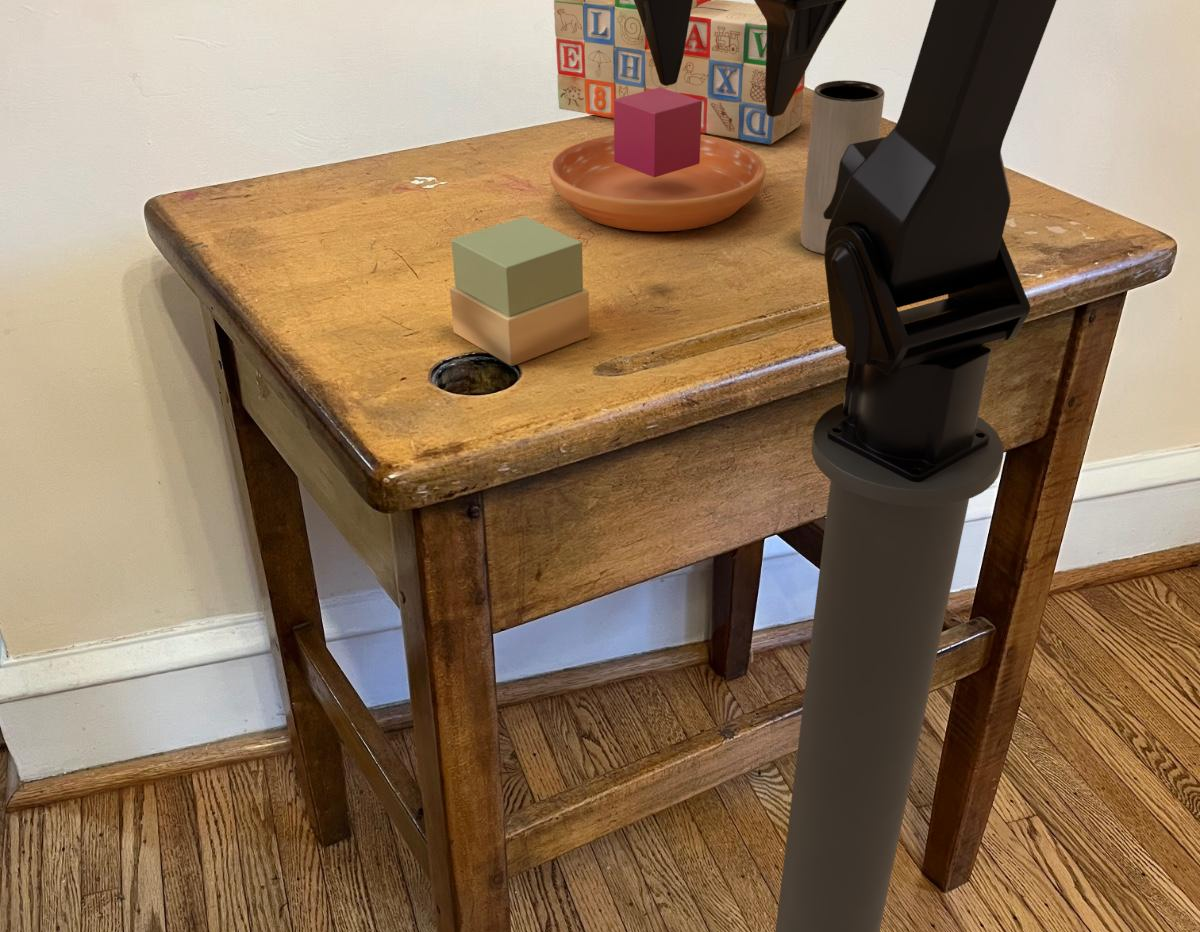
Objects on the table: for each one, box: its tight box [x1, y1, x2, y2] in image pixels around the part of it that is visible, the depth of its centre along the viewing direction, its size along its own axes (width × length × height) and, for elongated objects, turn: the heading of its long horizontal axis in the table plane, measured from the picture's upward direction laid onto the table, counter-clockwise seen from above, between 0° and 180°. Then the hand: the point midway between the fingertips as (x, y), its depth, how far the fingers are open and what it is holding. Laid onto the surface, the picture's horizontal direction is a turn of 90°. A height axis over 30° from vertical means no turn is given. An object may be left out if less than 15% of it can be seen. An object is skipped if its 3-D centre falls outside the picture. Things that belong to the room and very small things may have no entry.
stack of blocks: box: [553, 0, 806, 145], centre depth 105 cm, size 21×6×12 cm, turn 58°
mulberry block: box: [613, 87, 702, 177], centre depth 89 cm, size 4×4×4 cm
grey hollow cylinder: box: [800, 79, 885, 255], centre depth 83 cm, size 4×4×10 cm
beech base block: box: [449, 285, 591, 367], centre depth 75 cm, size 6×6×3 cm
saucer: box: [548, 134, 767, 232], centre depth 92 cm, size 16×16×3 cm
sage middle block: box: [450, 215, 584, 316], centre depth 73 cm, size 6×6×3 cm
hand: (719, 99), depth 74 cm, fingers open, 9 cm apart
